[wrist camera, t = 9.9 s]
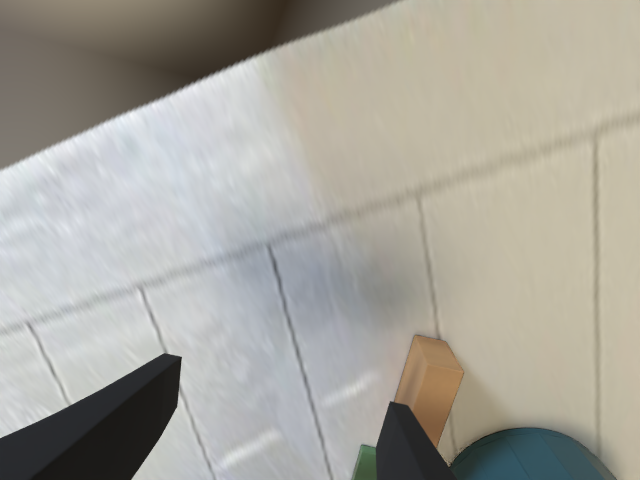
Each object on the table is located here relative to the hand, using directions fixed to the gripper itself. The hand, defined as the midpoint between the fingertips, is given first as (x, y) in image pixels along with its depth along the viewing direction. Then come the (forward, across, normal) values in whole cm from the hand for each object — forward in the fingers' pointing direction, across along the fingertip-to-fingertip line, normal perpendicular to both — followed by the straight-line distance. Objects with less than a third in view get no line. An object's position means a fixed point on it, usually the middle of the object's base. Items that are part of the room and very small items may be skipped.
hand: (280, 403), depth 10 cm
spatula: (+10, -9, +10) cm, 17 cm away
